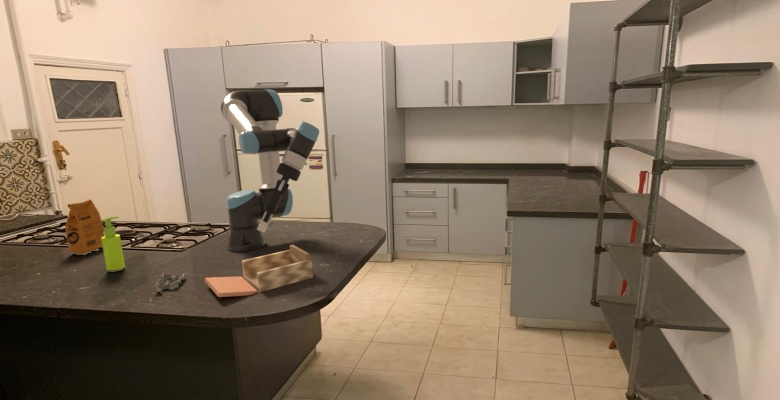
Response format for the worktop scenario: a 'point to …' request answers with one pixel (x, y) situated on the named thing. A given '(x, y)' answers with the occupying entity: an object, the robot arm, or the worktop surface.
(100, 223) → the coffee package
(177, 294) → the worktop surface
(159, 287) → the egg carton
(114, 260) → the soap dispenser
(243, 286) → the panel
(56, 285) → the worktop surface
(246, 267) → the wooden open box
